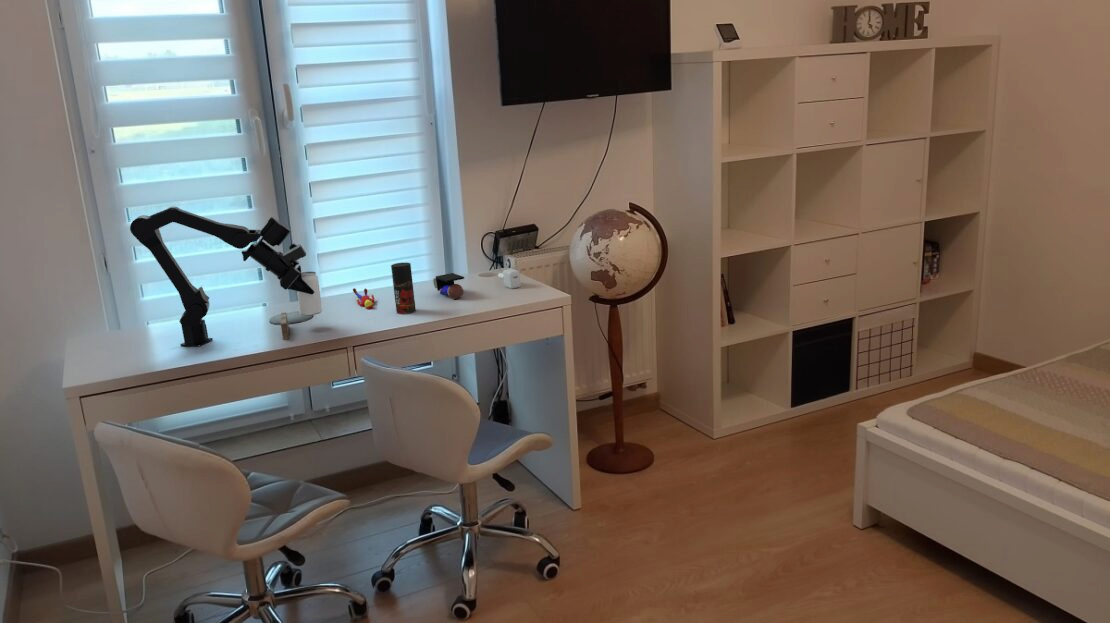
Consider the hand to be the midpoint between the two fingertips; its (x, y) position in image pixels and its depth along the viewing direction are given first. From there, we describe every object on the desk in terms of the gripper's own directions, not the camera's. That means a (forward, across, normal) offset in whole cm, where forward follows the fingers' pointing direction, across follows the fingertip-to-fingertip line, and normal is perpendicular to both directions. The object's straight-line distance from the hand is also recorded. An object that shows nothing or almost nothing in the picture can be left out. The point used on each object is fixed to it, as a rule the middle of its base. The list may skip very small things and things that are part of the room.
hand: (313, 290), depth 251 cm
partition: (+1, -2, +14) cm, 15 cm away
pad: (+2, +14, +13) cm, 20 cm away
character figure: (+19, +23, -3) cm, 30 cm away
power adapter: (+53, +20, -38) cm, 68 cm away
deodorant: (+27, +4, -11) cm, 29 cm away
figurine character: (+38, +17, -23) cm, 48 cm away
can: (+4, 0, +6) cm, 7 cm away
